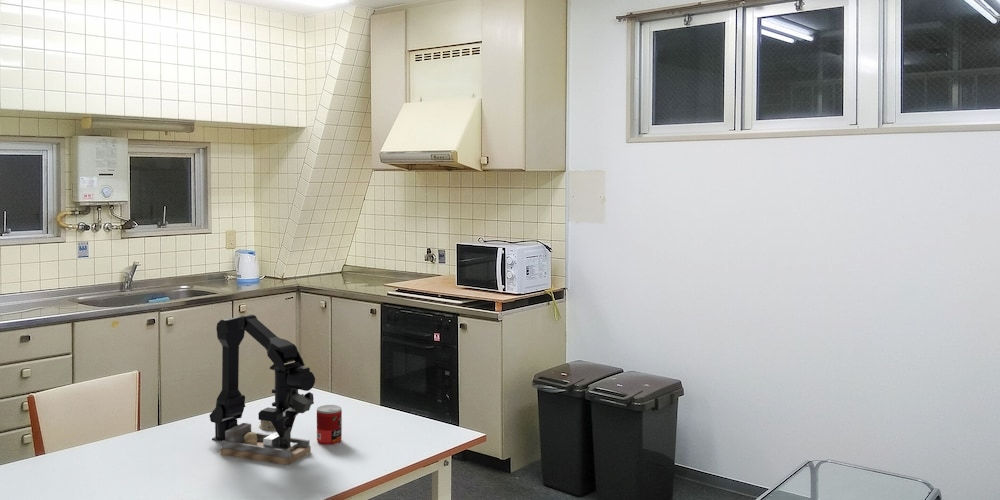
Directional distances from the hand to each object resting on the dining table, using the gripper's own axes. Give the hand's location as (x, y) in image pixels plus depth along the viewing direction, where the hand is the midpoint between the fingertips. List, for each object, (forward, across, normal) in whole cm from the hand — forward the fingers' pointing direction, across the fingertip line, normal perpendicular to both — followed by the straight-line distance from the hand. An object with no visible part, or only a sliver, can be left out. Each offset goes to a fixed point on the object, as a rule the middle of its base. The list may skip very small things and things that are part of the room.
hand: (285, 435), depth 242 cm
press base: (+6, 0, +7) cm, 9 cm away
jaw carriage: (+4, 0, +1) cm, 5 cm away
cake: (+7, +24, +21) cm, 32 cm away
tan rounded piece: (+4, 0, +12) cm, 13 cm away
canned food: (+7, +17, -5) cm, 19 cm away
